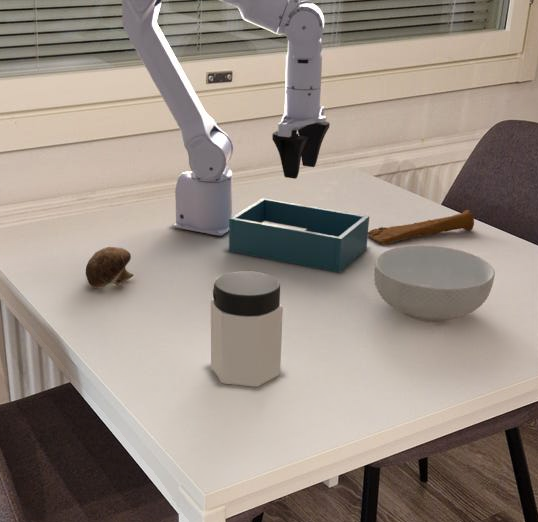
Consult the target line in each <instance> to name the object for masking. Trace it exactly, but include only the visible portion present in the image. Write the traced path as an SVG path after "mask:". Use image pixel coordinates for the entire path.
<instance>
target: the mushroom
mask: <svg viewBox="0 0 538 522" xmlns="http://www.w3.org/2000/svg"><path fill="white" fill-rule="evenodd" d="M131 259H132V254H131V253H130V251H129V250H127V249H125V248H123V247H115V246H106V247H103V248H101V249H99V250H98V251H95V253H93V255H92V256H91V257H90V258H89V260H88V262H87V264H86V267H85V276H86V280H87V282H88V285H90V287H91V288H94V289H102V288H104V287H105V286H107V285H109V284H113V285H115V286H120V285H122V284H124V283H125V282H127V281H129V280H130V279H132V278H133V277H134V274H133V273H131V272H130V271H128V270H127V269H126V267H127V265H128V264H129V263H130V261H131Z"/></svg>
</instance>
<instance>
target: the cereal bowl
mask: <svg viewBox="0 0 538 522" xmlns="http://www.w3.org/2000/svg"><path fill="white" fill-rule="evenodd" d="M495 274H496V272H495V268H494V267H493V266H492V265H491V264H490V263H489V262H488V261H486V260H485V259H483V258H481V257H480V256H477V255H475V254H473V253H470V252H467V251H464V250H460V249H457V248H452V247H445V246H439V245H427V244H425V245H424V244H420V245H419V244H417V245H403V246H398V247H394V248H390V249H387V250H386V251H383V252H382V253H380V254H379V255H378V256H377V258H376V260H375V262H374V273H373V275H374V276H373V277H374V279H373V281H374V285H375V288H376V290H377V293H378V295H379V296H380V297H381V299H382V300H383V301H384V302H385V303H387V305H389V306H390V307H392V308H393V309H395V310H397V311H399V312H400V313H403V314H404V315H405V316H407V317H409V318H411V319H415V320H418V321H422V322H431V323H433V322H436V323H437V322H445V321H448V320H451V319H456V318H460V317H463V316H466V315H469V314H471V313H473V312H475V311H477V309H479V308H481V306H483V304H484V303H485V302H486V301H487V299H488V298H489V296H490V293H491V291H492V288H493V284H494V280H495V276H496V275H495Z"/></svg>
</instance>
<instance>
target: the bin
mask: <svg viewBox="0 0 538 522" xmlns="http://www.w3.org/2000/svg"><path fill="white" fill-rule="evenodd" d="M263 221H267V222H273V223H278V224H284V225H289V226H295V227H301V228H306V229H307V231H304V230H298V229H293V228H287V227H282V226H276V225H271V224H265V223H262V222H263ZM369 224H370V216H369V215H364V214H358V213H353V212H346V211H340V210H335V209H330V208H325V207H324V208H323V207H318V206H313V205H306V204H301V203H294V202H287V201H282V200H276V199H272V198H265V197H261V199H259V200H257V201H256V202H254V203H252V204H251V205H249V206H247V207H246V208H244V209H243V210H241V211H239V212H237V213H236V214H235V215H232V217H231V218H230V219H229V231H228V251H229V252H232V253H235V254H241V255H247V256H252V257H253V256H254V257H258V258H261V259H262V258H263V259H267V260H272V261H278V262H281V263H288V264H293V265H298V266H303V267H309V268H313V269H319V270H324V271H329V272H334V273H340V272H341V271H342V270H343V269H345V268H346V267H347V266H348V265H349V264H351V262H353V261H354V260H355V259H356V258H358V257H359V256H360V254H361V253H363V252H364V251H365V250H366V249H367V247H368V237H369V235H368V232H369V226H370V225H369Z"/></svg>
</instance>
